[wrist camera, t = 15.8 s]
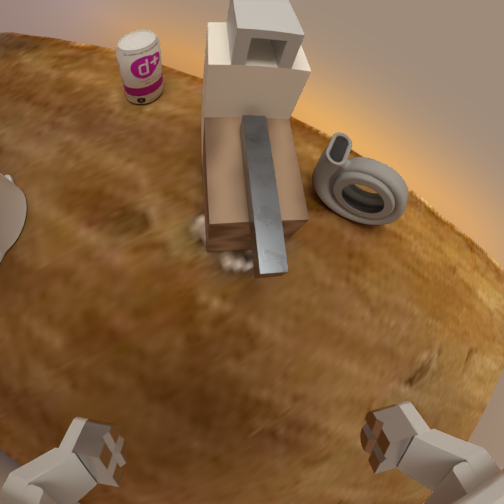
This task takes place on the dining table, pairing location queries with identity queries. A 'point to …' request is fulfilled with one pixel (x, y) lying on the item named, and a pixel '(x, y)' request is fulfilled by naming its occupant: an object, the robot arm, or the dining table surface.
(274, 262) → the metal bar
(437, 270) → the dining table surface
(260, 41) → the stand
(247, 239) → the step
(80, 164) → the dining table surface
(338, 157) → the turbocharger housing
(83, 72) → the dining table surface
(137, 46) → the supplement can
